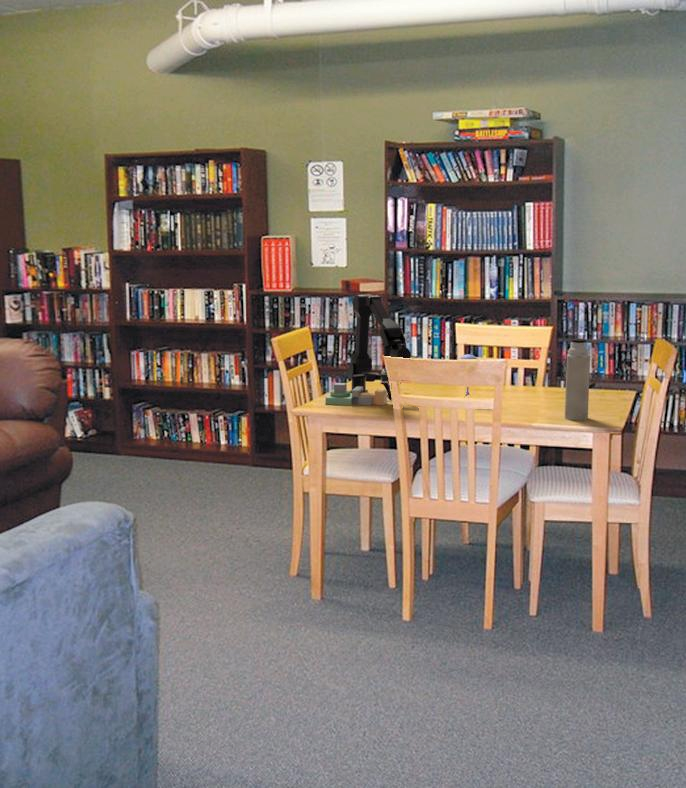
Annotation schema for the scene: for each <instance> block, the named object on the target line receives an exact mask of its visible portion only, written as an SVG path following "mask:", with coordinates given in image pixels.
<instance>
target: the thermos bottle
mask: <svg viewBox="0 0 686 788" xmlns="http://www.w3.org/2000/svg"><path fill="white" fill-rule="evenodd" d="M590 367H591V355H590V354H589V349H588V347H587V339H584V338H573V339H571V347H570V348H568V354H566V367H565V368H566V371H565V373H566V374H565V399H564V401H565V402H564V419H566V420H570V421H585V420H586V421H587V420H588V418H589V402H590V400H589V397H590V396H589V395H590V372H591V371H590V370H591V369H590Z"/></svg>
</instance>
